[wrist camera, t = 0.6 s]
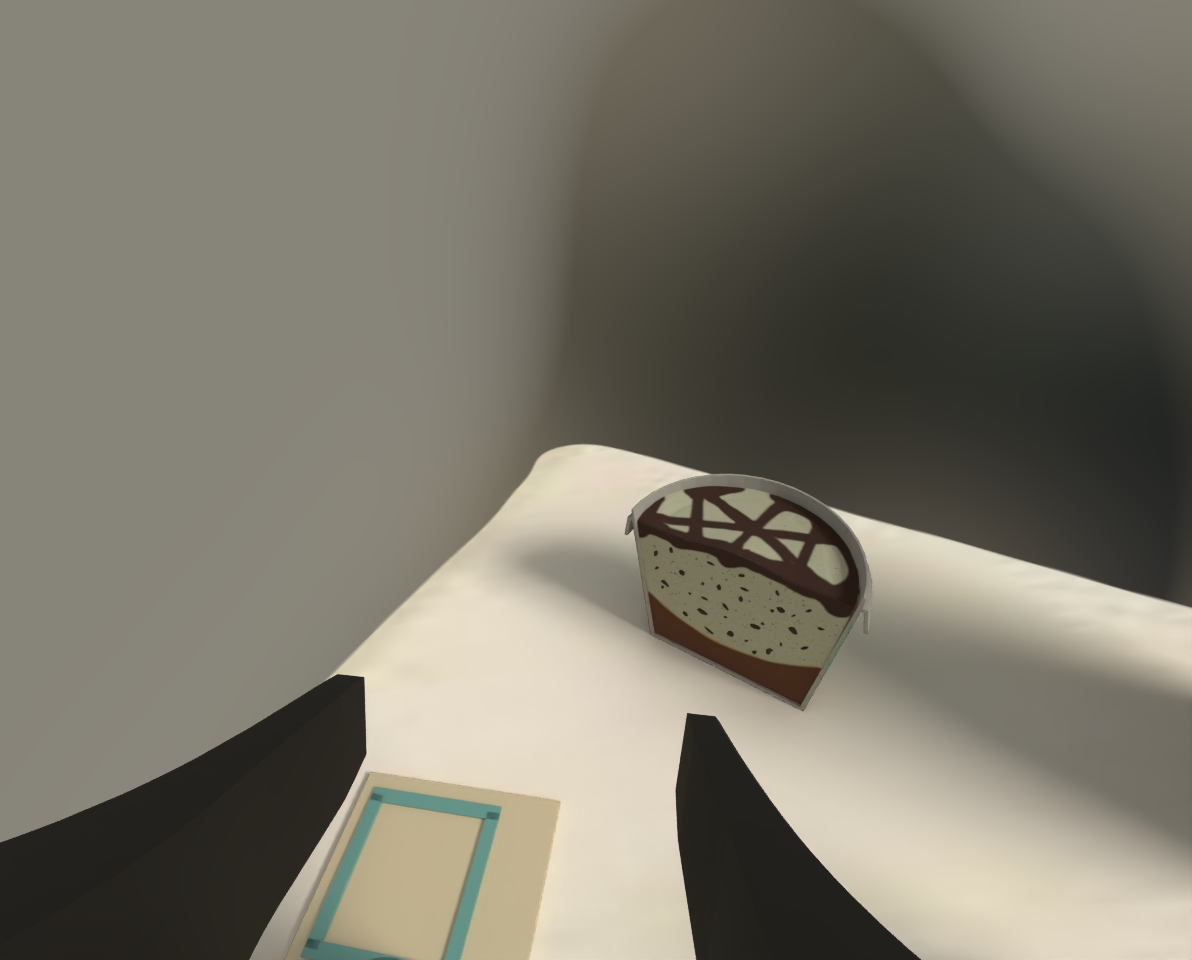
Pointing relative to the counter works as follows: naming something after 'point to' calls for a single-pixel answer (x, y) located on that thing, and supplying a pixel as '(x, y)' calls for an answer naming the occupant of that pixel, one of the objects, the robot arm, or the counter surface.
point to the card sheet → (431, 875)
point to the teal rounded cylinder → (385, 958)
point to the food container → (751, 579)
